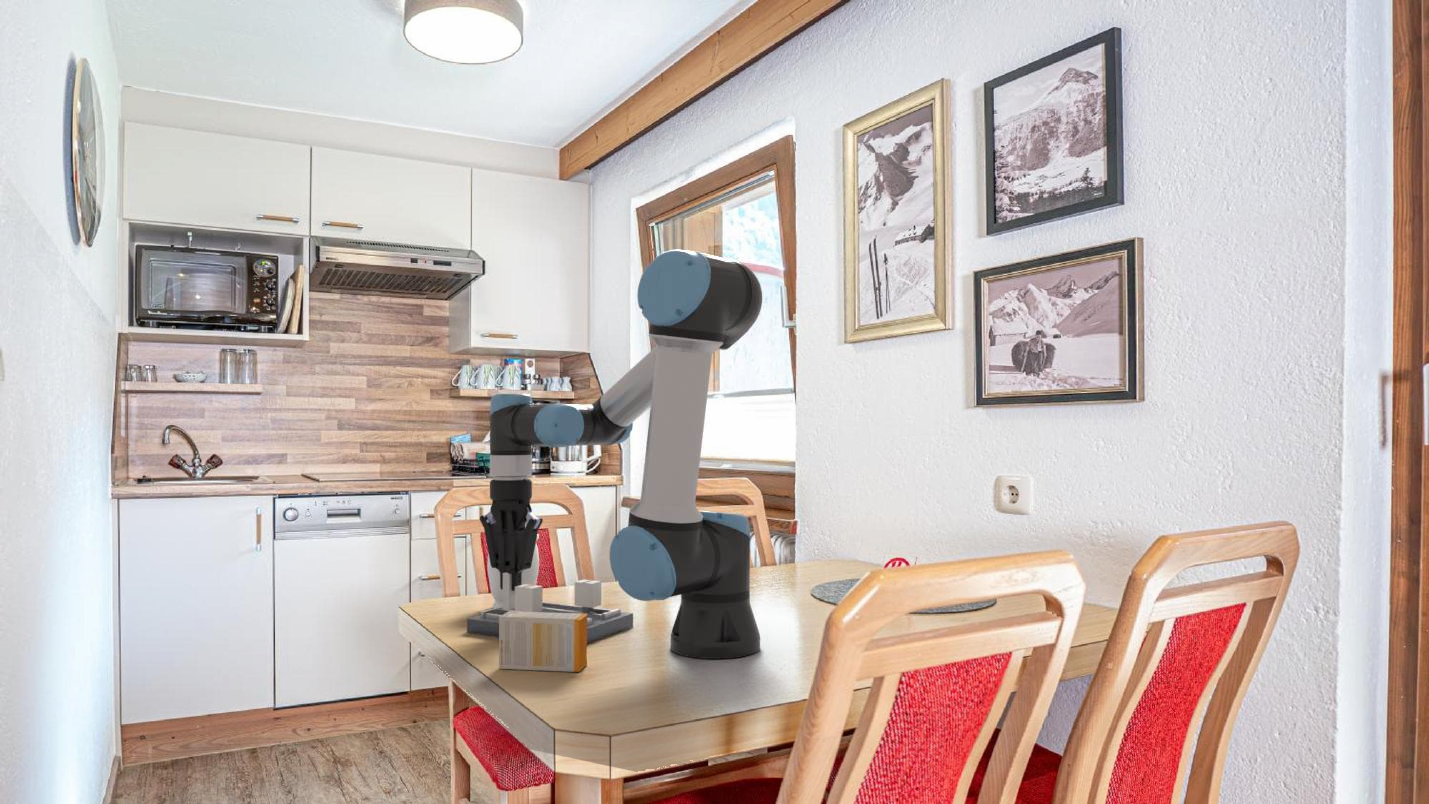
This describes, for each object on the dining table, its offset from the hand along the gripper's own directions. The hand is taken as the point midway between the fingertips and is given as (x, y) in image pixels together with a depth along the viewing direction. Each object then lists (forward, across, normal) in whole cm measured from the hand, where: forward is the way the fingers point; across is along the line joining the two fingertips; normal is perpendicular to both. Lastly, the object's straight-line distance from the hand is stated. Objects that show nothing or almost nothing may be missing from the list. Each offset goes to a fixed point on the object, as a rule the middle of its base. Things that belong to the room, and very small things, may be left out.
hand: (510, 607), depth 170 cm
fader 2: (+1, -11, -9) cm, 14 cm away
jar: (+4, +13, -17) cm, 22 cm away
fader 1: (+1, -4, 0) cm, 4 cm away
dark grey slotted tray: (+4, -6, -4) cm, 8 cm away
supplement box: (0, -27, +14) cm, 31 cm away
